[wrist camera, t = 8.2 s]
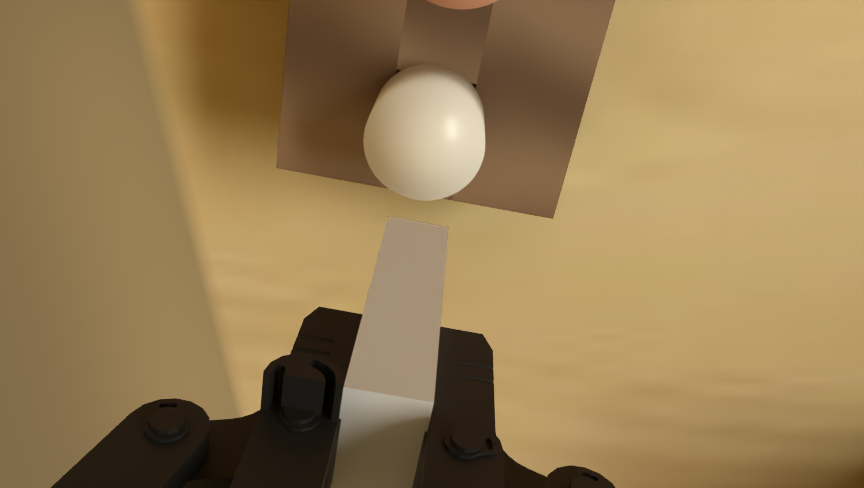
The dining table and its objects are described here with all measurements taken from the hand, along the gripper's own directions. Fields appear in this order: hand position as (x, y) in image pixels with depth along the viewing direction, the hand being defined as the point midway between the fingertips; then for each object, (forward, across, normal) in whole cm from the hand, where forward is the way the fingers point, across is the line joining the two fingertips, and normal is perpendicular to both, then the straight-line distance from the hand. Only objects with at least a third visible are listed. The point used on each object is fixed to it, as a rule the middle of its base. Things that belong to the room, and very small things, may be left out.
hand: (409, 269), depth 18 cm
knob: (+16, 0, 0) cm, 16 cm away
